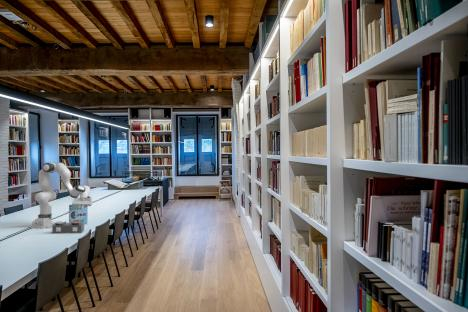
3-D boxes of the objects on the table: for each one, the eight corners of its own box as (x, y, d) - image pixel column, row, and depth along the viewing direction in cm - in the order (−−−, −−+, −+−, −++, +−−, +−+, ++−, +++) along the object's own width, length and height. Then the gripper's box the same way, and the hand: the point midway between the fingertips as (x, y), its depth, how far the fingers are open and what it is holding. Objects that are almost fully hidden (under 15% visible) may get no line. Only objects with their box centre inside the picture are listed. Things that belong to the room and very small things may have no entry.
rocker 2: (74, 223, 356) (74, 221, 357) (80, 223, 357) (80, 221, 358) (72, 222, 350) (72, 221, 350) (78, 222, 351) (78, 221, 351)
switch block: (52, 233, 345) (52, 223, 345) (55, 231, 356) (56, 221, 356) (80, 233, 349) (81, 223, 349) (84, 230, 360) (84, 221, 360)
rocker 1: (58, 223, 354) (58, 221, 355) (64, 223, 355) (64, 221, 356) (56, 223, 348) (56, 221, 348) (62, 223, 348) (62, 221, 349)
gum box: (86, 222, 401) (87, 203, 401) (87, 223, 397) (87, 204, 397) (68, 224, 391) (69, 204, 391) (69, 225, 386) (69, 205, 386)
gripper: (73, 196, 375) (70, 206, 365) (92, 196, 378) (89, 207, 368) (74, 200, 379) (71, 210, 370) (93, 200, 382) (90, 210, 372)
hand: (80, 208), depth 369 cm, fingers closed
